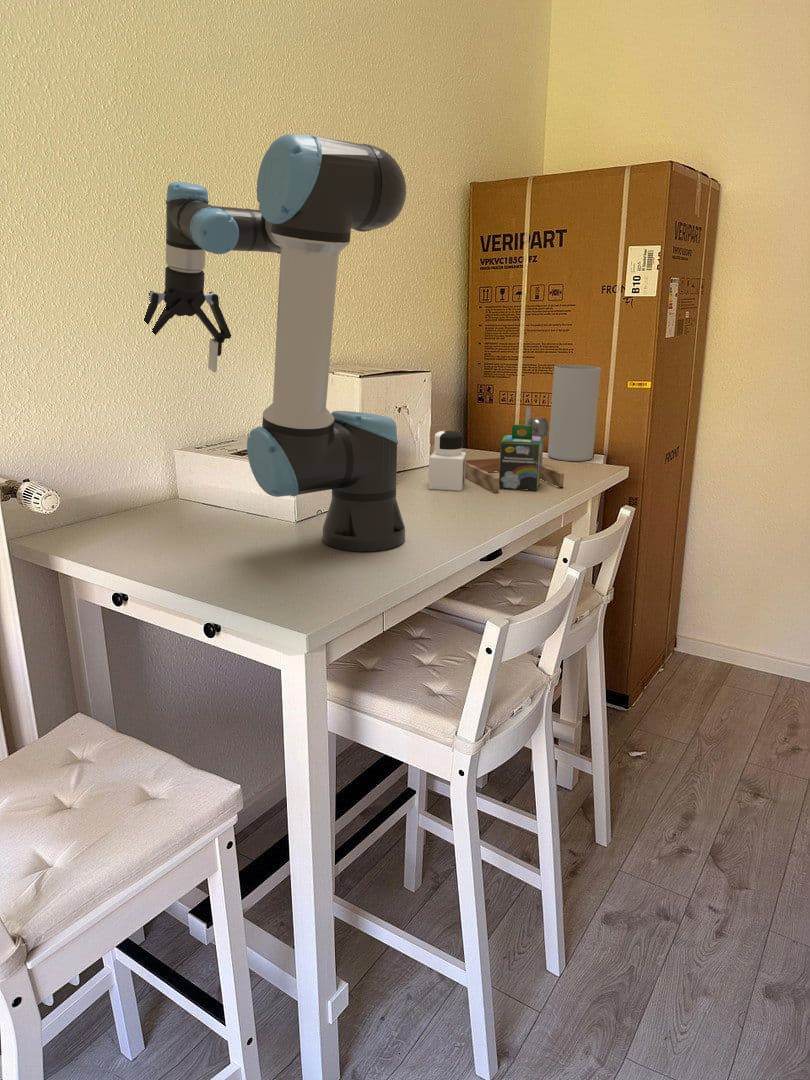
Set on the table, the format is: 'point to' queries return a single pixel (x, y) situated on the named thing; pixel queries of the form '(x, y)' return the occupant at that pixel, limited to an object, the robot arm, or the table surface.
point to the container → (447, 462)
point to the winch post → (537, 427)
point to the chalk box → (520, 459)
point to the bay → (481, 467)
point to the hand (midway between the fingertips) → (181, 371)
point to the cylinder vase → (573, 412)
